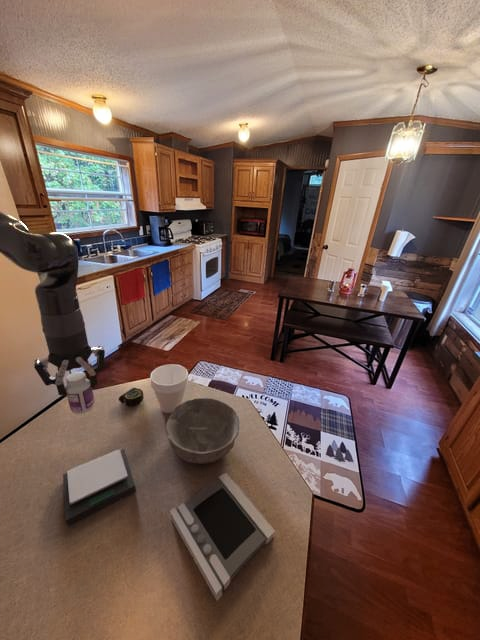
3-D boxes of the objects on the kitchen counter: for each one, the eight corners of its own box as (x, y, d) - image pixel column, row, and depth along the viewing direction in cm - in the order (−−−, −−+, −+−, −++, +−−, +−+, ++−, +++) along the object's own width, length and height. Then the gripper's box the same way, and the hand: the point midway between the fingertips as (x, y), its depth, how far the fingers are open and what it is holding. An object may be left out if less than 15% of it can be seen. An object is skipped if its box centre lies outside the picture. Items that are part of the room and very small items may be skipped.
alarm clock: (169, 511, 56) (227, 464, 65) (171, 522, 58) (227, 476, 68) (216, 593, 44) (277, 522, 54) (217, 604, 46) (275, 534, 56)
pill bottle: (91, 397, 68) (84, 367, 64) (98, 407, 64) (92, 376, 61) (68, 406, 64) (59, 375, 60) (74, 418, 61) (66, 386, 57)
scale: (68, 527, 54) (64, 516, 53) (64, 480, 63) (61, 471, 62) (135, 491, 62) (134, 482, 61) (124, 455, 71) (123, 445, 70)
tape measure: (135, 393, 94) (134, 384, 93) (148, 400, 92) (147, 391, 90) (119, 403, 89) (117, 395, 87) (132, 411, 86) (131, 402, 85)
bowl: (251, 457, 73) (254, 431, 69) (185, 496, 62) (184, 468, 58) (215, 412, 89) (216, 389, 85) (157, 437, 77) (155, 411, 73)
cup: (195, 401, 93) (195, 370, 87) (174, 424, 82) (172, 390, 77) (168, 390, 97) (166, 360, 92) (144, 411, 87) (141, 378, 81)
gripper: (98, 316, 62) (108, 373, 69) (23, 328, 54) (42, 391, 61) (104, 328, 57) (114, 389, 63) (21, 343, 49) (43, 411, 55)
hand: (79, 390), depth 62 cm, fingers closed on pill bottle, 5 cm apart
